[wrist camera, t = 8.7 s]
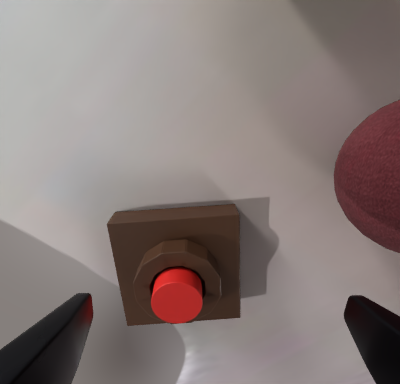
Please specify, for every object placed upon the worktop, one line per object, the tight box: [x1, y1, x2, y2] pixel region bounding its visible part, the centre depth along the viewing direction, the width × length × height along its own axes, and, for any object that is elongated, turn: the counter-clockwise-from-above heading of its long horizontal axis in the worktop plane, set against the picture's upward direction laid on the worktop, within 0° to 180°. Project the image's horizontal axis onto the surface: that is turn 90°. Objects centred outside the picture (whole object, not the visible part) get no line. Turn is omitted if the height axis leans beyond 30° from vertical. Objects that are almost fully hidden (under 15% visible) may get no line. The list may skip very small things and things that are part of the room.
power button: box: [151, 267, 203, 323], centre depth 18 cm, size 4×4×2 cm
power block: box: [107, 204, 240, 326], centre depth 21 cm, size 10×10×4 cm
